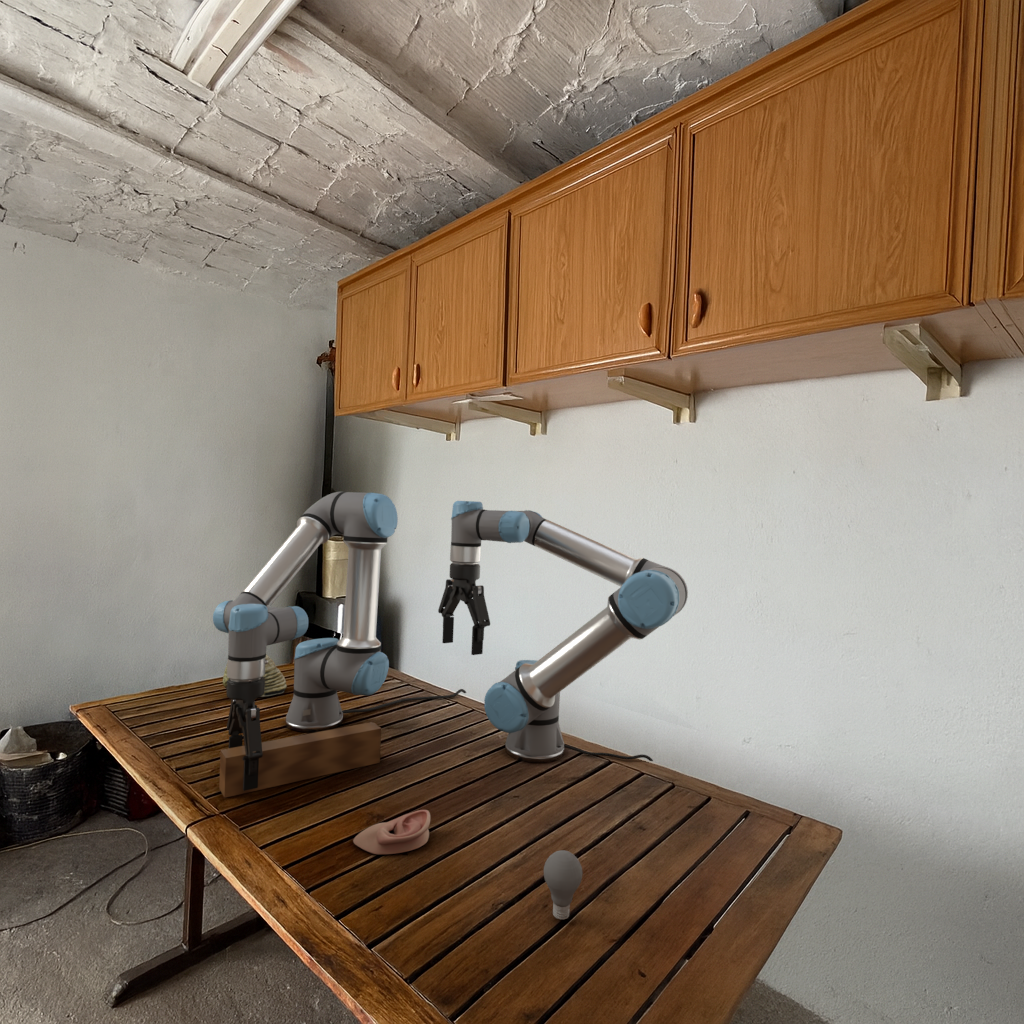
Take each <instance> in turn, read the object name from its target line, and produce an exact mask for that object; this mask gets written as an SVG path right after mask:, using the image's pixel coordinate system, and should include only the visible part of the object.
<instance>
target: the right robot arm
mask: <svg viewBox="0 0 1024 1024" xmlns="http://www.w3.org/2000/svg"><path fill="white" fill-rule="evenodd" d="M450 521H451V532H450V533H451V534H450V537H451V538H450V553H449V561H450V562H452V563H450V564H449V578H447V579H446V580H445V588H444V591H443V594H442V597H441V600H440V603H439V606H438V609H437V612H438V614H441V617H442V640H441V641H442V644H451V643H453V642H454V630H455V629H454V626H455V617H454V616H455V615H454V613H455V611H456V609H457V607H458V605H459V604H460V602H463V603H464V604H465V605H466V607H467V609H468V611H469V615H470V617H471V620H472V623H473V626H472V627H471V628H472V629H471V651H470V652H471V655H472V656H476V655H477V656H478V655H483V651H484V640H485V639H484V638H485V637H484V636H485V628H487V627H490V626H491V620H490V616H489V611H488V607H487V603H486V598H485V597H486V596H485V587H484V585H477V584H476V583H477V580H479V579H480V578H481V565H480V564H479V563H480V562H481V552H482V548H481V547H482V541H489V542H491V541H492V542H501V543H508V544H516V543H519V544H521V543H523V542H525V543H527V544H529V545H531V546H534V547H535V548H538V549H540V550H543V551H545V552H547V553H549V554H551V555H553V556H555V557H557V558H559V559H561V560H564V561H566V562H567V563H570V564H572V565H574V566H576V567H578V568H580V569H583V570H584V571H587V572H589V573H591V574H593V575H594V576H597V577H598V578H601V579H603V580H606V581H608V582H610V583H612V584H614V585H616V586H617V587H619V588H618V589H617V590H615V591H614V592H613V593H611V594H610V595H609V596H608V597H607V605H606V607H605V608H603V609H602V610H601V611H599V612H598V613H597V614H596V615H595V616H594V617H593V616H592V618H590V619H589V620H588V621H587V622H586V623H584V624H583V625H581V626H580V627H579V628H578V629H577V630H575V631H573V633H572V634H570V635H569V636H567V637H566V638H565V639H564V640H563V641H561V642H560V643H559V644H557V645H556V646H554V647H553V648H552V649H551V650H550V651H548V652H547V653H546V654H545V655H544V656H542V657H541V658H539V659H538V660H537V659H536V660H535V659H521V660H518V661H517V662H516V664H515V667H514V670H513V671H512V672H511V673H510V674H508V675H507V676H506V677H505V678H503V679H502V680H500V681H498V682H495V683H494V684H492V685H491V687H489V688H488V690H487V692H486V693H485V695H484V699H483V700H484V702H483V703H484V705H483V707H484V712H485V714H486V717H487V719H488V721H489V722H490V723H491V725H492V726H493V727H495V728H496V729H497V730H498V731H501V732H503V733H506V734H507V736H506V738H505V744H504V745H505V748H504V749H505V753H506V754H507V755H509V756H510V757H511V758H513V759H516V760H519V761H524V762H526V763H527V762H528V763H550V762H554V761H557V760H559V759H561V758H562V757H564V755H565V749H568V750H571V751H575V752H578V753H581V754H584V755H588V756H597V757H598V756H601V757H603V756H605V757H610V758H616V759H620V760H629V761H630V760H631V761H632V760H636V759H643V758H644V759H647V760H648V761H649V762H654V759H653V758H652V757H650V755H647V754H635V755H632V756H631V755H630V756H625V755H619V754H615V753H610V752H591V751H586V750H582V749H581V748H579V747H575V746H572V745H569V744H565V741H564V737H563V733H562V729H561V727H560V722H559V718H560V703H561V702H560V701H561V699H560V698H561V692H563V690H565V689H566V688H567V687H568V686H570V685H571V684H572V683H574V682H575V681H576V680H578V679H579V678H581V677H582V676H583V675H585V674H586V673H587V672H589V671H590V670H591V669H592V668H594V667H595V666H596V665H598V664H599V663H601V662H602V661H603V660H604V659H606V658H607V657H609V656H610V655H611V654H613V653H614V652H615V651H618V649H619V648H621V647H622V646H623V645H624V644H626V643H627V642H628V641H630V640H631V639H635V640H639V641H641V640H644V639H645V638H646V637H647V636H649V635H650V634H652V633H653V632H654V631H656V630H657V629H659V628H660V627H661V626H663V625H665V624H667V623H669V621H671V620H672V619H673V617H675V616H676V615H677V614H679V613H680V612H681V611H682V610H683V609H684V608H685V606H686V604H687V601H688V597H689V596H688V595H689V591H688V590H689V589H688V586H687V583H686V581H685V579H684V577H683V576H682V575H681V574H680V573H679V572H678V571H676V570H675V569H673V568H671V567H668V566H665V565H662V564H660V563H657V562H654V561H651V560H649V559H648V558H644V557H640V558H637V559H636V558H635V557H632V556H629V555H628V554H625V553H623V552H621V551H619V550H616V549H614V548H612V547H609V546H607V545H605V544H603V543H600V542H598V541H596V540H594V539H592V538H590V537H587V536H585V535H583V534H581V533H578V532H576V531H574V530H572V529H569V528H567V527H565V526H563V525H561V524H558V523H556V522H554V521H551V520H549V519H547V518H544V517H543V516H542V515H541V514H540V513H538V512H537V511H533V510H529V509H528V510H527V509H526V510H498V509H497V510H496V509H495V510H494V509H493V510H492V509H491V510H490V509H484V505H483V502H481V501H472V500H456V501H454V502H453V504H452V512H451V518H450Z"/></svg>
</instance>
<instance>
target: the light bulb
mask: <svg viewBox="0 0 1024 1024" xmlns="http://www.w3.org/2000/svg"><path fill="white" fill-rule="evenodd" d="M543 877H544V878H543V879H544V881H545V884H546V885H547V887H548V889H549V892H550V896H551V898H550V899H551V900H552V915H553V917H554V918H555V919H558V920H566V919H569V917H570V910H571V909H570V908H571V904H572V901H573V898H574V894H575V893H576V891H577V890H578V889H579V887H580V885H581V883H582V880H583V866H582V864H581V862H580V860H579V859H578V857H577V856H575V854H573V853H572V852H570V851H568V850H564V849H561V850H556V851H555V852H553V853H552V854H550V855H549V856H548V857H547V859H546V861H545V862H544V865H543Z"/></svg>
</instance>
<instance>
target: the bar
mask: <svg viewBox="0 0 1024 1024" xmlns="http://www.w3.org/2000/svg"><path fill="white" fill-rule="evenodd" d="M261 742H262V753H263V756H262V757H261V758H259V768H258V788H254V789H250V790H245V791H244V790H243V777H244V760H242V758H243V756H246V753H245V745H242V746H239V747H234V748H229V747H228V748H223V749H220V751H219V752H220V756H219V782H218V783H219V784H218V788H219V791H220V793H221V795H222V797H223V799H226V798H229V797H235V796H239V795H242V794H248V793H252V792H256V791H261V790H266V789H269V788H270V789H271V788H274V787H278V786H282V785H289V784H291V783H295V782H302V781H306V780H309V779H313V778H314V779H315V778H318V777H322V776H328V775H331V774H335V773H336V774H337V773H341V772H345V771H349V770H353V769H358V768H363V767H366V766H372V765H375V764H380V763H381V747H382V746H381V744H382V727H380V726H379V725H378V724H376V723H375V722H374V721H370V722H364V723H360V724H354V725H349V726H348V725H347V726H344V727H343V726H342V727H338V728H337V727H336V728H333V729H329V730H325V731H318V732H309V733H305V734H301V735H295V736H289V737H284V738H279V739H273V740H268V741H261ZM255 752H256V751H255Z"/></svg>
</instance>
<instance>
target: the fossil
mask: <svg viewBox="0 0 1024 1024" xmlns="http://www.w3.org/2000/svg"><path fill="white" fill-rule="evenodd" d="M265 660H268V664H265V675H264V676H263V677H264V678H265V691H264V694H263V695H262V696H261V697H260V698H264V697H271V696H275V695H281V694H284V693H285V691H286V689H287V687H288V686H287V680H286V678H285V676H284V674H283V673H282V672H281V669H279V668H278V667H277V665H276V663H275V662H274V660H273V659H272V658H271V657H270V656H269V655H268V654H267V653H266V659H265ZM222 676H223V677H222V685H223V687H224V688H225V690H227V680H228V679H229V678H228V677H227V664H226V666H225V668H224V671H223V675H222Z"/></svg>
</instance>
